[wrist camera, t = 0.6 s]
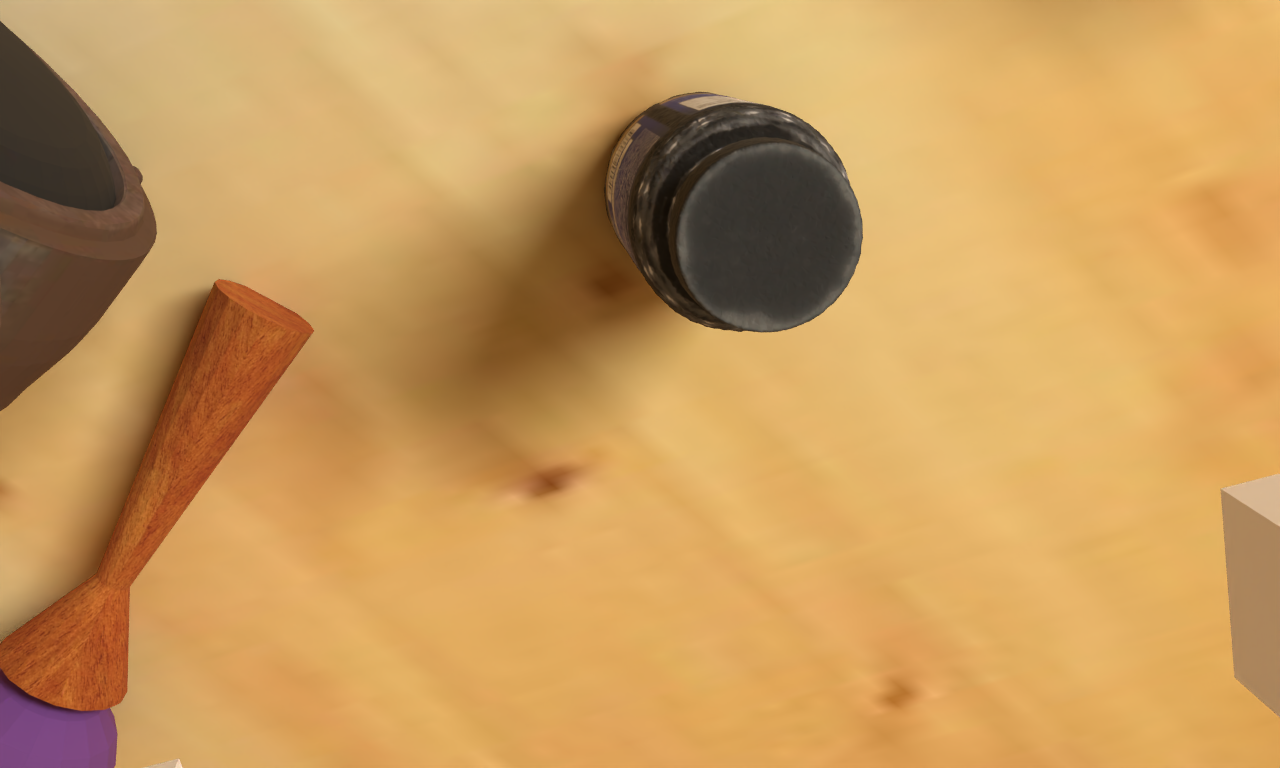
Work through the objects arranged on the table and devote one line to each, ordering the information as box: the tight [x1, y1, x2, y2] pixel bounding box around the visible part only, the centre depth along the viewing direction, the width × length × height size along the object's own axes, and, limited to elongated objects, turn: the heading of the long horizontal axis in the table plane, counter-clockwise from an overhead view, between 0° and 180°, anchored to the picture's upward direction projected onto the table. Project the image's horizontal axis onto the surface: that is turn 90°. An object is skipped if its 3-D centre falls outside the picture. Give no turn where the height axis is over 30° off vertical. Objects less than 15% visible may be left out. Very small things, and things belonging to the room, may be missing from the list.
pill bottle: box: [604, 92, 863, 332], centre depth 34 cm, size 6×6×11 cm
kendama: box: [0, 279, 314, 768], centre depth 39 cm, size 6×6×20 cm
